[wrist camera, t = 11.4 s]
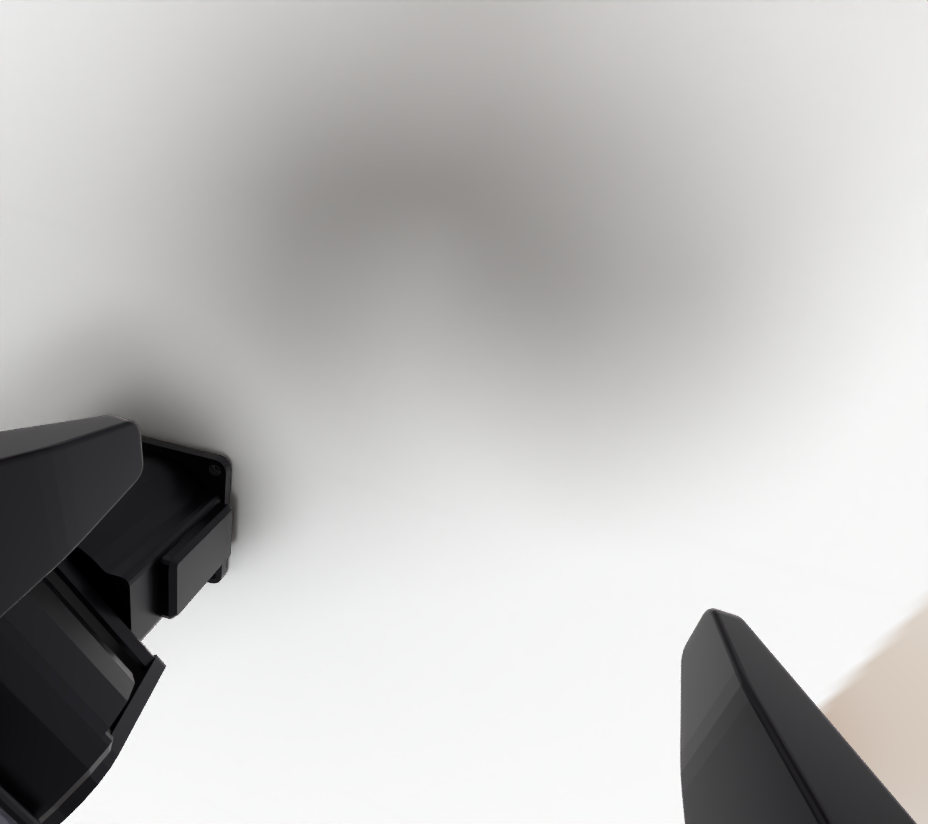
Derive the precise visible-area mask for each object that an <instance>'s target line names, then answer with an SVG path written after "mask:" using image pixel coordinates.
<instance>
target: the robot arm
mask: <svg viewBox="0 0 928 824" xmlns="http://www.w3.org/2000/svg"><path fill="white" fill-rule="evenodd" d="M214 465H216V466H218V467H219V468H220V471H218V470H216V468H215V467H214ZM230 481H231V465H230V463H229V461H228V460H227V459H226V458H224V457H222V456H219V455H215V454H211V453H207V452H203V451H199V450H195V449H191V448H187V447H183V446H179V445H175V444H171V443H167V442H163V441H159V440H155V439H151V438H147V437H143V436H141V432H140V428H139V426H138V425H137V424H136V423H135V422H133V421H131V420H128V419H124V418H121V417H118V416H114V415H105V416H99V417H92V418H86V419H79V420H73V421H66V422H60V423H53V424H47V425H40V426H34V427H27V428H21V429H14V430H8V431H1V432H0V824H60V823H61V822H63V821H64V820H65V819H66V818H67V817H68V816H69V815H70V814H71V813H72V812H73V811H74V810H75V809H76V808H77V807H78V806H79V805H80V804H81V803H82V802H83V801H84V800H85V799H86V798H87V796H88V795H89V794H90V793H91V792H92V791H93V790H94V788H95V787H96V786H97V785H98V784H99V782H100V781H101V780H102V778H103V777H104V776H105V775H106V773H107V772H108V771H109V769H110V768H111V766H112V764H113V763H114V761H115V760H116V758H117V756H118V755H119V753H120V751H121V749H122V747H123V745H124V744H125V742H126V740H127V738H128V736H129V734H130V732H131V730H132V729H133V727H134V725H135V723H136V721H137V719H138V717H139V716H140V714H141V712H142V710H143V708H144V706H145V704H146V703H147V701H148V699H149V697H150V695H151V693H152V691H153V690H154V688H155V686H156V684H157V682H158V680H159V678H160V676H161V675H162V673H163V671H164V669H165V667H166V665H165V664H164V663H163V662H162V661H161V659H160V658H159V657H158V656H157V655H152V654H151V653H150V651H149V650H148V649H147V648H146V647H145V646H144V645H143V643H142V642H141V641H142V639H143V638H144V637H145V636H146V635H147V634H148V633H149V632H150V631H151V630H152V628H153V627H154V626H155V625H156V624H157V623H158V622H159V621H160V620H161V618H162V617H164V618H168V619H172V618H174V617H175V616H177V615H178V614H179V613H180V612H181V611H182V610H183V609H184V608H185V607H186V605H187V604H188V603H189V602H190V601H191V600H192V599H193V597H194V596H195V595H196V594H197V593H198V592H199V590H200V589H201V588H202V587H203V586H204V585H205V584H206V582H209V583H218V582H219V581H220V580H221V579H222V578H223V577H224V576H225V574H226V567H227V558H228V557H229V556H230V554H231V536H232V515H233V510H232V508H231V506H230V505H229V503H230ZM680 767H681V786H682V798H683V808H684V818H685V824H916V822H915V821H914V820H913V819H912V818H911V816H910V815H909V814H908V813H907V812H906V811H905V809H904V808H903V807H902V806H901V805H900V803H899V802H898V801H897V800H896V799H895V798H894V796H893V795H892V794H891V793H890V792H889V791H888V790H887V788H886V787H885V786H884V785H883V783H882V782H881V781H880V780H879V779H878V778H877V776H876V775H874V773H873V772H872V771H871V769H870V768H869V767H868V766H867V765H866V764H865V763H864V761H863V760H862V759H861V758H860V756H859V755H858V754H857V753H856V752H855V751H854V749H853V748H852V747H851V746H850V745H849V744H848V742H847V741H846V740H845V739H844V738H843V737H842V736H841V734H840V733H839V732H838V731H837V730H836V728H835V727H834V726H833V725H832V724H831V722H830V721H829V720H828V719H827V718H826V717H825V715H824V714H823V713H822V712H821V711H820V709H819V708H818V707H817V706H816V705H815V704H814V702H813V701H812V700H811V699H810V698H809V697H808V695H807V694H806V693H805V692H804V691H803V689H802V688H801V687H800V686H799V685H798V684H797V682H796V681H795V680H794V679H793V678H792V677H791V675H790V674H789V673H788V672H787V671H786V670H785V668H784V667H783V666H782V665H781V664H780V662H779V661H778V660H777V659H776V658H775V657H774V655H773V654H772V653H771V652H770V651H769V650H768V648H767V647H766V646H765V645H764V644H763V642H762V641H761V640H760V639H759V638H758V637H757V635H756V634H755V633H754V632H753V631H752V630H751V628H750V627H749V626H748V625H747V624H746V622H745V621H744V620H743V619H742V618H740V617H739V616H736V615H733V614H730V613H727V612H724V611H721V610H718V609H714V608H712V609H708V610H707V611H706V612H705V613H704V614H703V616H702V617H701V619H700V621H699V623H698V624H697V626H696V628H695V630H694V631H693V633H692V635H691V637H690V638H689V640H688V642H687V644H686V645H685V648H684V650H683V654H682V660H681V734H680Z"/></svg>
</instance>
